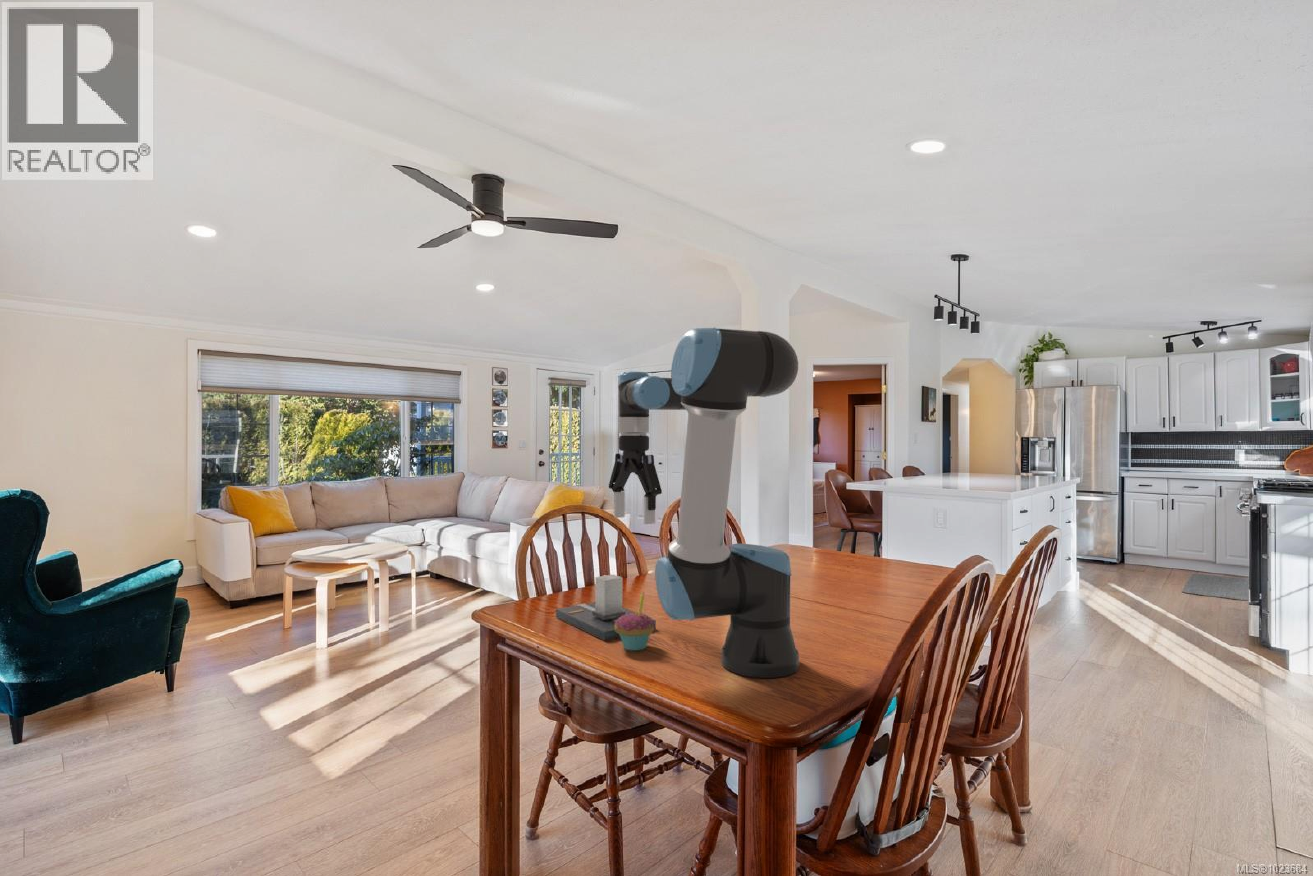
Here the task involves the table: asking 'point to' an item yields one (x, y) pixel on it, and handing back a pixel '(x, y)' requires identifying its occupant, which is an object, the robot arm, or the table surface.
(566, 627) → the table surface
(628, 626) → the cupcake
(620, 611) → the block
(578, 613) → the board
